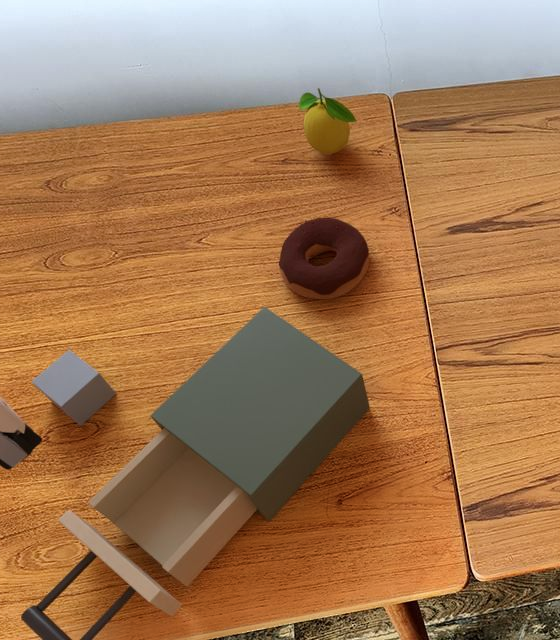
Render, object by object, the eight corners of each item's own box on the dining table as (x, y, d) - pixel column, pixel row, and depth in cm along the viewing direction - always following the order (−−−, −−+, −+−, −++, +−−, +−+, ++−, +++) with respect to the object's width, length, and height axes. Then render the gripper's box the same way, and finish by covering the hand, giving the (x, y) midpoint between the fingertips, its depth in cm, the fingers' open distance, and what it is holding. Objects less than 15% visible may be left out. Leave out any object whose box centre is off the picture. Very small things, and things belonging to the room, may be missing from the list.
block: (80, 426, 76) (61, 406, 72) (51, 401, 77) (30, 381, 73) (116, 393, 78) (99, 373, 74) (87, 370, 79) (69, 349, 75)
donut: (299, 317, 83) (293, 297, 80) (269, 252, 88) (262, 231, 84) (384, 283, 86) (381, 262, 82) (351, 222, 90) (347, 200, 87)
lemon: (362, 162, 95) (353, 100, 87) (317, 174, 94) (303, 113, 86) (346, 126, 99) (336, 63, 90) (302, 138, 97) (288, 75, 89)
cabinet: (269, 522, 71) (250, 495, 65) (176, 447, 75) (149, 415, 68) (370, 408, 78) (362, 373, 71) (279, 344, 81) (264, 306, 75)
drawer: (105, 691, 63) (76, 683, 58) (18, 606, 66) (-18, 591, 61) (281, 494, 72) (268, 473, 67) (196, 428, 75) (178, 403, 70)
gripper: (-278, 309, 44) (-79, 430, 60) (-134, 461, 39) (39, 547, 55) (-154, 227, 47) (3, 362, 63) (-8, 359, 42) (122, 469, 58)
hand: (20, 449), depth 59 cm, fingers closed
